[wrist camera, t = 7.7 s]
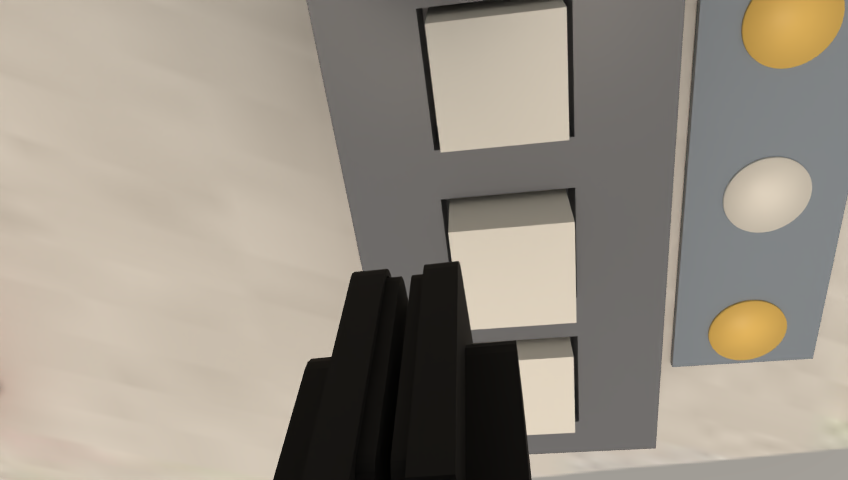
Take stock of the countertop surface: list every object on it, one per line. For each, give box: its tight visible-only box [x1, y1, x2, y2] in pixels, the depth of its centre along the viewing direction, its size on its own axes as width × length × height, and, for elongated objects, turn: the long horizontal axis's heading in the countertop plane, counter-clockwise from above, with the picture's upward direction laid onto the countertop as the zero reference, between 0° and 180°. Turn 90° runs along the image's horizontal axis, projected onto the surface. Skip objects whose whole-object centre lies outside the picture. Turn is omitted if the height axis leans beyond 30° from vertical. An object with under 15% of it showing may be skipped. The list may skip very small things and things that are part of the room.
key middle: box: [448, 188, 576, 330], centre depth 26 cm, size 4×4×3 cm
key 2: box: [425, 0, 569, 152], centre depth 23 cm, size 4×4×3 cm
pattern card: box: [671, 0, 848, 367], centre depth 28 cm, size 18×6×1 cm, turn 7°
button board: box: [307, 0, 685, 454], centre depth 28 cm, size 23×12×3 cm, turn 7°
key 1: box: [473, 337, 575, 435], centre depth 30 cm, size 4×4×3 cm
